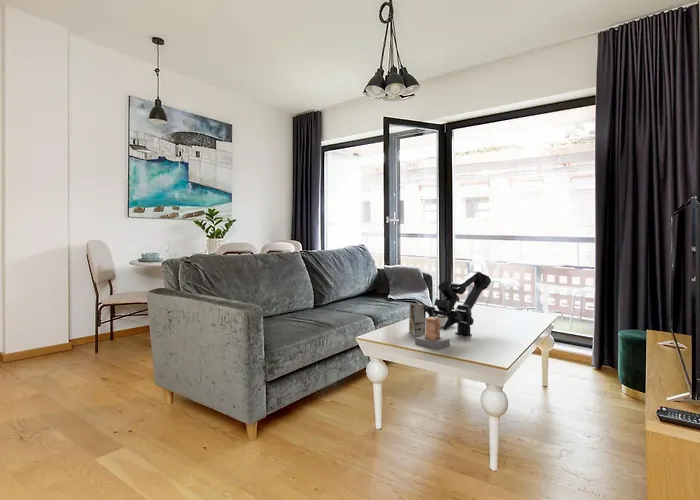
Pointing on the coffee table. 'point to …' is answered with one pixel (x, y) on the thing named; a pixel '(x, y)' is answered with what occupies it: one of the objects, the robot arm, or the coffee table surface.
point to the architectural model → (442, 320)
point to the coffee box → (417, 319)
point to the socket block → (432, 342)
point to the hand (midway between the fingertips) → (436, 327)
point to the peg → (432, 328)
